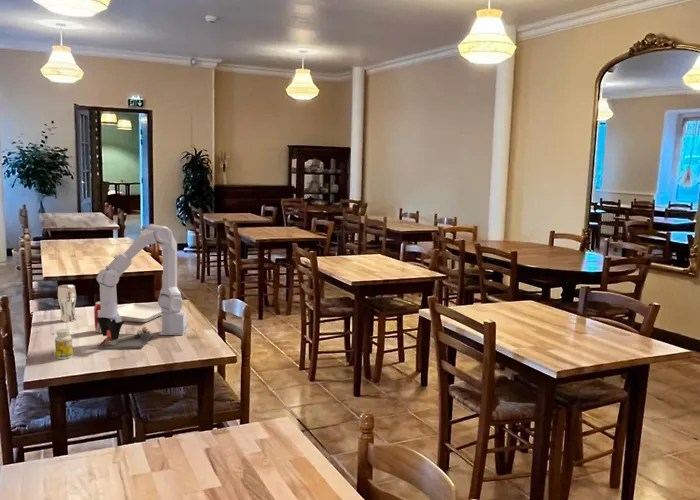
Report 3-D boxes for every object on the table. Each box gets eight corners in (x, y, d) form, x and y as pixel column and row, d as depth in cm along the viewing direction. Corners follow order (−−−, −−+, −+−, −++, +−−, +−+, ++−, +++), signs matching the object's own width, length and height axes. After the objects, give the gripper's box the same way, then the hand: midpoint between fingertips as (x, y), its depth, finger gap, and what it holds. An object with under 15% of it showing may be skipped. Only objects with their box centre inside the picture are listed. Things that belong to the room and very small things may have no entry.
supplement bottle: (76, 355, 216) (74, 329, 215) (64, 360, 211) (62, 333, 210) (64, 353, 218) (63, 327, 217) (52, 358, 213) (50, 331, 212)
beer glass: (80, 319, 263) (78, 285, 261) (65, 323, 257) (63, 288, 255) (70, 317, 267) (69, 283, 264) (56, 320, 261) (53, 286, 259)
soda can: (101, 335, 241) (99, 305, 240) (91, 331, 246) (90, 302, 244) (117, 331, 247) (116, 302, 245) (107, 328, 251) (106, 299, 249)
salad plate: (145, 325, 256) (145, 317, 256) (102, 321, 262) (102, 313, 262) (173, 313, 277) (173, 306, 276) (132, 310, 282) (132, 302, 282)
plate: (153, 336, 240) (152, 323, 240) (141, 348, 225) (140, 335, 224) (111, 336, 240) (110, 323, 239) (96, 349, 224) (95, 335, 223)
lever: (147, 332, 241) (147, 320, 240) (151, 334, 239) (151, 322, 239) (105, 342, 228) (105, 329, 227) (109, 344, 226) (109, 331, 225)
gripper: (89, 300, 228) (90, 335, 230) (107, 307, 218) (109, 343, 220) (107, 297, 233) (108, 331, 235) (126, 303, 223) (127, 339, 225)
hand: (110, 337), depth 228 cm, fingers open, 6 cm apart
